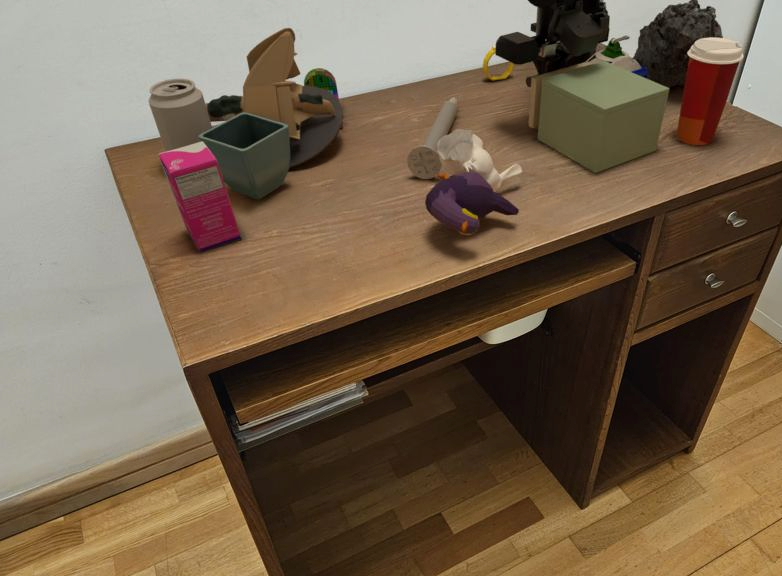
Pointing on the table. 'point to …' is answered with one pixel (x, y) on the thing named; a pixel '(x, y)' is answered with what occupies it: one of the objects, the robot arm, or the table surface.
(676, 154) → the table surface
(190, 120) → the can
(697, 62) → the paper cup
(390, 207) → the table surface
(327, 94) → the toy
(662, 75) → the rock
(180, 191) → the supplement box
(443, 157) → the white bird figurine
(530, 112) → the drawer
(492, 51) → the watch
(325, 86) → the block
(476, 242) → the table surface
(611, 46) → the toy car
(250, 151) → the flower pot
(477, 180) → the toy
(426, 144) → the screw
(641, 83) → the storage box
